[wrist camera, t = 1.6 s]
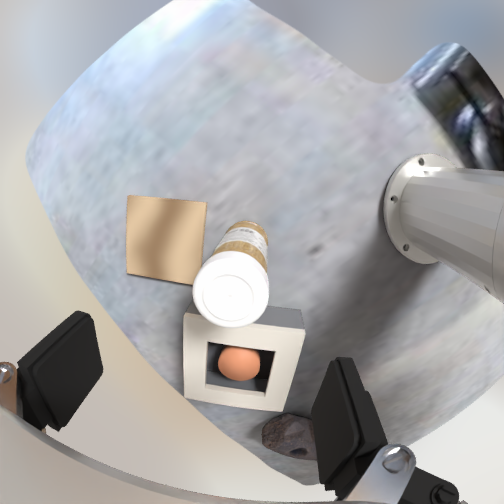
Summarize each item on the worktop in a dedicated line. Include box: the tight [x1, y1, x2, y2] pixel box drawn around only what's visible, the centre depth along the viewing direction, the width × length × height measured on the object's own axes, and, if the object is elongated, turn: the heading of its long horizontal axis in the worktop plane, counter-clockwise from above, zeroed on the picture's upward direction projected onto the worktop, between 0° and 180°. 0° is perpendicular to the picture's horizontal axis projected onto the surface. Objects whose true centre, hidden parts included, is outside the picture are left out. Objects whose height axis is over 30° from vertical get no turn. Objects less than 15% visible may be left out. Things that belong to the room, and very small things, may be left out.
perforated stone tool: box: [261, 413, 317, 460], centre depth 33 cm, size 15×5×7 cm, turn 55°
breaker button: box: [218, 345, 260, 381], centre depth 29 cm, size 5×5×2 cm
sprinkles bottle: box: [192, 221, 269, 328], centre depth 22 cm, size 5×5×13 cm
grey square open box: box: [183, 299, 306, 412], centre depth 30 cm, size 12×12×5 cm
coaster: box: [126, 195, 207, 285], centre depth 29 cm, size 9×9×1 cm
